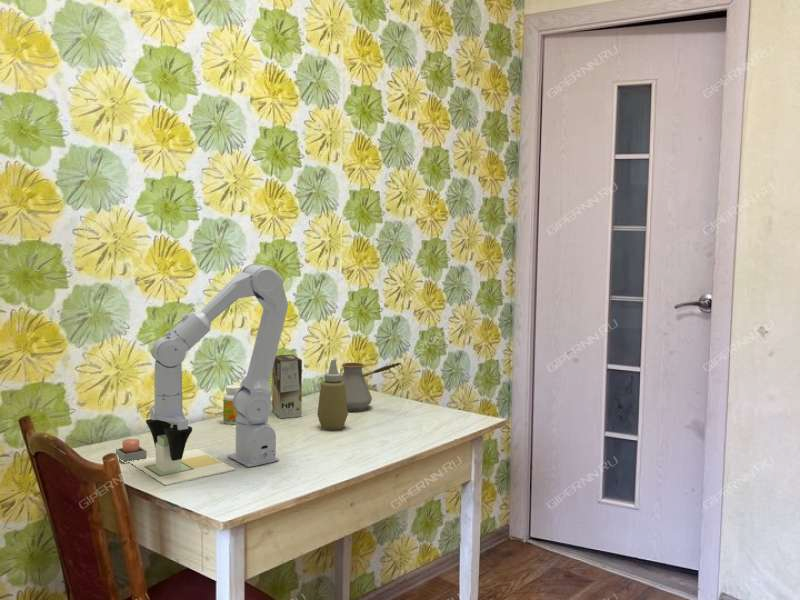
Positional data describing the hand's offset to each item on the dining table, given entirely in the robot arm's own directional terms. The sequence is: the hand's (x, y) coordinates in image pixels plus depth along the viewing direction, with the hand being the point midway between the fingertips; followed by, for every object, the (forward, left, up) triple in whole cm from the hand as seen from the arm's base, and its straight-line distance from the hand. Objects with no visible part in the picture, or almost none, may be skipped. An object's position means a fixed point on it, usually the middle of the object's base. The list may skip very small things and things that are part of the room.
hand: (168, 455), depth 165 cm
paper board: (0, -3, -3) cm, 4 cm away
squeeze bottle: (+6, -48, -3) cm, 48 cm away
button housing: (+12, +4, -3) cm, 13 cm away
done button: (+12, +4, -2) cm, 13 cm away
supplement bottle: (+26, -30, -3) cm, 40 cm away
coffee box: (+25, -46, -3) cm, 52 cm away
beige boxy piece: (0, 0, -3) cm, 3 cm away
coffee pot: (+15, -67, -3) cm, 69 cm away
